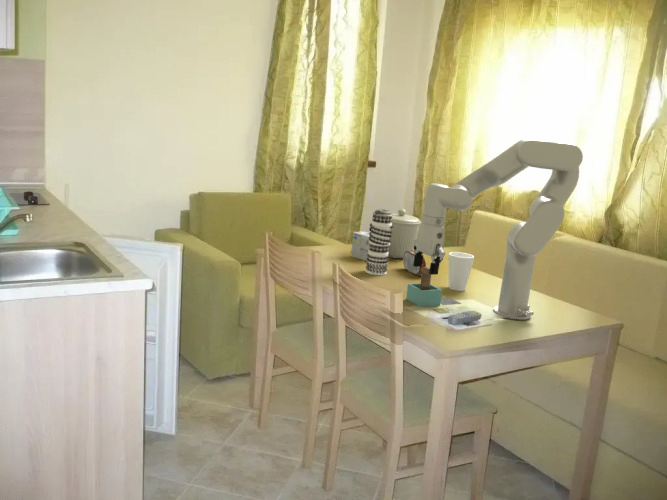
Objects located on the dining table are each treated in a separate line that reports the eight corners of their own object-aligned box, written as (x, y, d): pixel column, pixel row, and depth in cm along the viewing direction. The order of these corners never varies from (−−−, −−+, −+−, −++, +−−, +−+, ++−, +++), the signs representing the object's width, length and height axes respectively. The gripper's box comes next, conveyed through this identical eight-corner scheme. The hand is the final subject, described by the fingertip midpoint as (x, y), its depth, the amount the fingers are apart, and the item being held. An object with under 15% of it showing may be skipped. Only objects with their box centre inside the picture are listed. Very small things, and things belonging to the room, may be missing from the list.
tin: (425, 277, 275) (427, 257, 273) (418, 277, 273) (420, 257, 272) (407, 267, 288) (409, 248, 286) (400, 268, 287) (403, 248, 285)
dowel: (429, 303, 238) (433, 269, 235) (421, 303, 236) (426, 269, 234) (424, 300, 241) (428, 266, 238) (416, 300, 239) (420, 267, 237)
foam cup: (469, 293, 258) (474, 259, 255) (444, 289, 259) (448, 255, 257) (469, 287, 267) (474, 254, 264) (445, 283, 268) (449, 250, 266)
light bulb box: (379, 260, 296) (381, 235, 294) (368, 262, 291) (370, 236, 289) (361, 254, 303) (363, 230, 301) (350, 256, 299) (352, 231, 296)
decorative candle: (375, 268, 282) (381, 207, 276) (392, 274, 275) (399, 211, 270) (359, 270, 275) (366, 208, 270) (377, 276, 269) (384, 212, 263)
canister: (397, 262, 296) (403, 213, 291) (367, 252, 308) (373, 206, 304) (425, 258, 308) (431, 212, 303) (395, 249, 321) (400, 204, 316)
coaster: (461, 305, 241) (461, 303, 241) (442, 306, 238) (442, 304, 237) (448, 298, 248) (448, 296, 248) (429, 299, 244) (429, 297, 244)
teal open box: (439, 306, 237) (442, 289, 236) (419, 308, 233) (421, 290, 232) (426, 299, 244) (428, 283, 243) (405, 300, 240) (407, 283, 239)
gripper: (457, 226, 227) (449, 277, 230) (427, 215, 241) (420, 263, 245) (438, 226, 223) (430, 277, 227) (409, 215, 238) (402, 263, 242)
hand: (425, 270), depth 236 cm, fingers open, 9 cm apart
